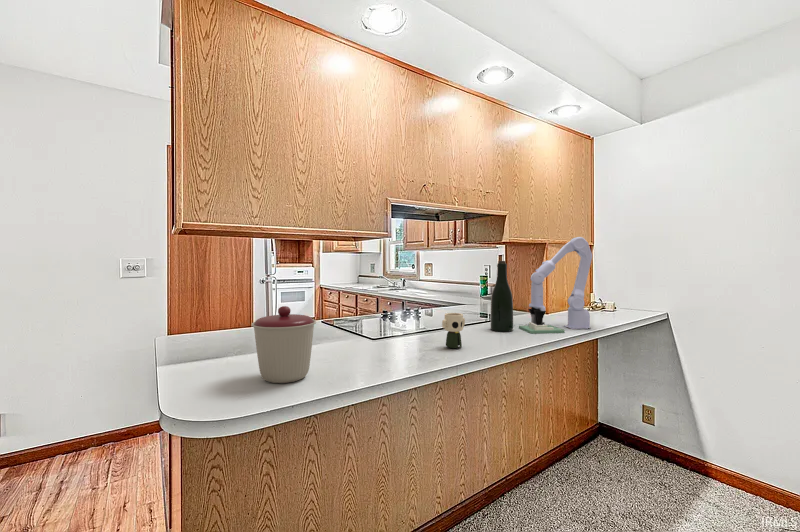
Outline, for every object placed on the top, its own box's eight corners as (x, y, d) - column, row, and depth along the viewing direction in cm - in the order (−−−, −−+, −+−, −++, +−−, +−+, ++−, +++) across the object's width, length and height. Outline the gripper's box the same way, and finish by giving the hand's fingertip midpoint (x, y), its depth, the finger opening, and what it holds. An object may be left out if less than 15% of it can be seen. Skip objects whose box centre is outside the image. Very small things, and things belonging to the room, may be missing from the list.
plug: (542, 325, 207) (542, 313, 207) (546, 326, 203) (546, 314, 203) (530, 325, 206) (530, 313, 206) (533, 327, 202) (533, 315, 202)
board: (550, 327, 201) (550, 320, 201) (564, 332, 187) (564, 324, 187) (518, 328, 199) (518, 320, 199) (530, 333, 185) (530, 325, 185)
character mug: (448, 351, 152) (448, 316, 152) (436, 347, 158) (436, 314, 158) (470, 347, 158) (470, 314, 158) (458, 344, 164) (458, 311, 164)
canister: (292, 366, 132) (291, 301, 132) (329, 376, 121) (328, 305, 120) (239, 379, 118) (238, 306, 118) (276, 392, 107) (275, 312, 106)
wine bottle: (486, 329, 198) (486, 260, 197) (505, 327, 201) (505, 260, 200) (497, 332, 188) (498, 260, 187) (517, 331, 191) (517, 260, 190)
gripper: (523, 295, 211) (523, 321, 211) (535, 297, 196) (535, 326, 197) (536, 294, 212) (536, 321, 212) (549, 297, 197) (549, 325, 197)
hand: (536, 323), depth 204 cm, fingers closed on plug, 4 cm apart
